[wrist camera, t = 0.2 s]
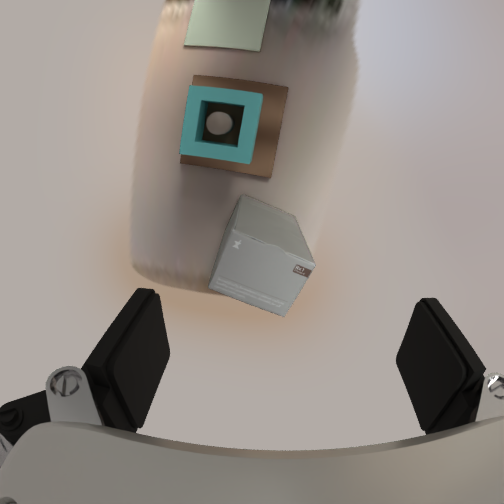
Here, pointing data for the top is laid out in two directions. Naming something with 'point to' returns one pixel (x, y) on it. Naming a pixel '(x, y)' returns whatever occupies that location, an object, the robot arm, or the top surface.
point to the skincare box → (262, 257)
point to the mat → (228, 24)
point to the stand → (229, 124)
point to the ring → (197, 116)
